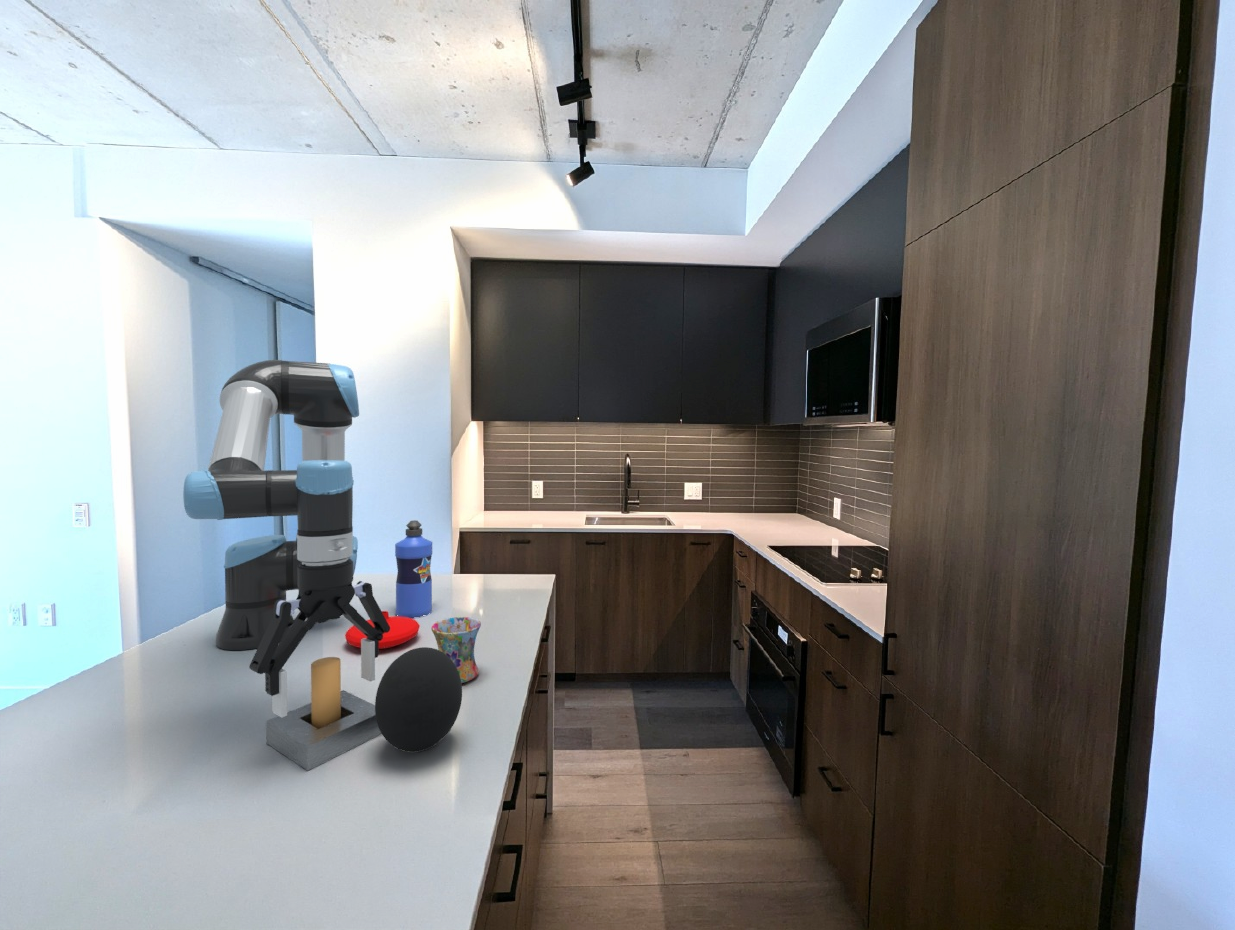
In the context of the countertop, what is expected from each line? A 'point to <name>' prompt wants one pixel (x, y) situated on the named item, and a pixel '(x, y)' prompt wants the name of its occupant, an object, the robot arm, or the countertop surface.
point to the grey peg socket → (322, 732)
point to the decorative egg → (418, 699)
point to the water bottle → (413, 573)
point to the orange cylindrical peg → (325, 691)
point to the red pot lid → (397, 635)
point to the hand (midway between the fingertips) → (327, 695)
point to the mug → (458, 643)
